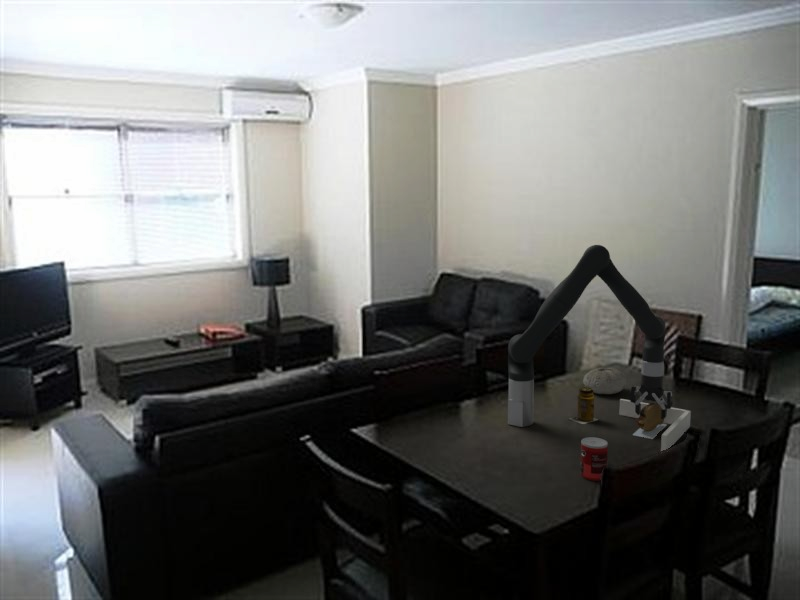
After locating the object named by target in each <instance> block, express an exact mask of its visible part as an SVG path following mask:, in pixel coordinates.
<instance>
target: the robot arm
mask: <svg viewBox="0 0 800 600" xmlns="http://www.w3.org/2000/svg"><path fill="white" fill-rule="evenodd" d="M597 276H598V278H600V279H601V280H602V281H603V282H604V284H606V286H607V287H608V288H609V289H610V291H611V293H612V294H614V296H615V297H616V299H617V300H618V301H619V303H620V304H621V305H622V307H623V308H624V309H625V310H626V312H628V313H629V315H630V316H631V317H632V318H633V320H634V321H635V323H636V324H637V326H638V327H639V330H641V332H642V333H643V334H644V345H643V347H642V348H643V349H642V361H641V372H640V373H641V374H640V386H638V385H636V384H634V385H633V386H631V390H630V398H629V400H630V401H631V402H633V403H635V412H636V413H637V415H640V412H641V404H640V402H643V401H644V400H645V401H648V402H649V401H651V402H653V403H655V402H656V403H658V404H659V405H660V406H661V408H662V409H661V419H664V418H665V417H666V416H667V409H670V408H671V407H672V408H673V406H674V403H673V401H674V400H673V398H674V397H673V393H674V392H673V391H672V390H668V391H667V390H664V376H665V375H664V374H665V365H664V362H665V361H664V359H665V356H664V355H665V339H666V328H667V327H666V322H665V321H664V319H663V318H662V317H660V316H658V315H655V313H654V312H653V311H652V309H651V308H650V305H649V303H648V302H647V301H646V300H645V298H644V297H643V296H642V295H641V293H640V292H639V291H638V290H637V289H636V288H635V287H634V286H633V284H631V283H630V282H629V280H627V279H626V278H625V276H623V274H622V273H621V272H620V271H619V270H618V268H617V267H616V266H615V264H614V263H613V261H612V259H611V254H610V252H609V250H608V249H607V248H606V247H605V246H603V245H601V244H594V245H591V246H588V247H587V248H586V250H585V251H584V252H583V254H582V256H581V258H580V259H579V261H578V262H577V264H576V265H575V266H574V268H573V269H572V270H571V272H570V273H569V274H568V275H567V276H565V278H564V279H563V280H561V281H560V282H559V284H558V285H557V286H556V287H555V288H554V289H553V290H552V291H551V293H550V294H549V295H548V296H547V298H546V299H545V300H544V301H543V303H542V304H541V306H540V307H539V309H538V311H537V313H536V315H535V317H534V318H533V320H532V322H531V324H530V325H529V326H528V328H526V330H525V331H524V332H523V333H518V334H516V335H514V336H512V337H511V338H510V340H509V342H508V347H507V348H508V349H507V358H508V359H507V367H508V368H507V369H508V370H507V371H508V400H507V425H511V426H514V427H519V428H520V427H521V428H524V427H528V426H532V425H533V424H534V408H535V407H534V400H535V399H534V394H535V393H534V391H535V390H534V389H535V371H534V370H535V369H534V357H535V355H536V354H537V352H538V350H539V349H540V347H541V346H542V345H543V343H544V342H545V340H546V339H547V338H548V337H549V335H550V334H551V333H552V332H553V331H554V330H555V329H556V328H557V327H558V325H559V324H560V323H561V322H562V321H563V320H564V319H565V317H566V316H567V315H568V314H569V312H571V310H572V309H573V308H574V307H575V305H576V303H577V302H578V301H579V299H580V297H581V296H582V294H583V293H584V291H585V290H586V288H587V287H588V286H589V284H590V283H591V282H592V281H593V280H594V279H595V278H596V277H597ZM638 392H640V394H641V396H640V397H638V399H637V393H638ZM663 395H664V396H665V398H666V401H665V399H664V397H663Z"/></svg>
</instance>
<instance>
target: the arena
mask: <svg viewBox="0 0 800 600" xmlns="http://www.w3.org/2000/svg"><path fill="white" fill-rule="evenodd" d="M640 404H641V409H642V408H643V407H645V406H646V405H648V404H650V402H649V403H647V402H643V401H641V402H640ZM691 413H692V411H691V410H688V409H684V408H683V409H682V408H677V407H673V406H672V407H671V408H670V409H667V416H666V417H665V418H664V422H663V424H667V425H670V426H668V428H667V429H665V431H664V432H663V433H662V434H661V442H660V452H661V451H663V450H666V449H668V448H670V447H671V446H672V445H673V446H674V444H676V442H677V441H678V440H679V439H680V438H681V437H682V436H683V435H684V434H685V433H686V432H687V431H688V429H689V428H690V427H691V416H692V415H691ZM618 414H619V416H625V417H628V418H629V417H630V418H635V419H636V418H639V416H640V415H637V413H636V412H635V403H633V402H631V401H630V399H626V398H625V399H624V398H620V399H619V411H618ZM684 432H685V433H684ZM671 448H672V447H671ZM671 448H670V449H671Z"/></svg>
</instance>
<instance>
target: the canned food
mask: <svg viewBox="0 0 800 600" xmlns="http://www.w3.org/2000/svg"><path fill="white" fill-rule="evenodd" d="M608 451H609V443H608V441H607V440H605V439H603V438H600V437H593V436H592V437H591V436H589V437H584V438H582V439H581V442H580V475H581V477H582V478H583V479H586V480H587V481H588V480H589V481H594V482H595V481H596V482H599V481H601V480H600V478H601V473H602V470H603V468H604V467H606V466H607V467H608V456H609V455H608V453H609V452H608Z"/></svg>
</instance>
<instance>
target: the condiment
mask: <svg viewBox="0 0 800 600" xmlns="http://www.w3.org/2000/svg"><path fill="white" fill-rule="evenodd" d="M576 406H577V409H576V410H577V412H576V413H577V414H576V416H573V417H569V418H568V419H569V420H571V421H573V422H575V423H578V424H580V425H586V424H588V423H593V422H596V421H599V419H597V418H595V415H594V414H595V396H594V392H593V389H592V388H589V387H586V386H582V387H579V388H578V395H577V405H576ZM576 418H577V419H576Z"/></svg>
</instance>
